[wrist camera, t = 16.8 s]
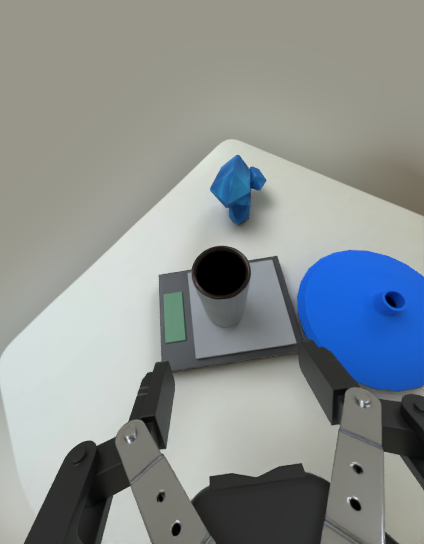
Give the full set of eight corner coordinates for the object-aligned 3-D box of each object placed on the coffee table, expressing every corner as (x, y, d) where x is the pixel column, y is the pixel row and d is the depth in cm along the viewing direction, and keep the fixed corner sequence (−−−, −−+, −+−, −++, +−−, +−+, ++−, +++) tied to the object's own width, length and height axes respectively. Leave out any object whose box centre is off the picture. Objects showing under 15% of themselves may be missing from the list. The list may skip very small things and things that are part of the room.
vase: (284, 368, 25) (302, 366, 19) (296, 252, 32) (312, 221, 25) (441, 407, 23) (523, 421, 16) (420, 272, 29) (473, 243, 22)
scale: (167, 372, 26) (159, 372, 23) (163, 281, 31) (156, 272, 29) (300, 352, 26) (308, 349, 23) (274, 263, 31) (278, 252, 28)
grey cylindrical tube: (252, 308, 25) (264, 271, 16) (224, 336, 24) (219, 312, 15) (225, 282, 27) (222, 235, 18) (198, 307, 26) (179, 270, 17)
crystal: (270, 142, 32) (268, 187, 25) (262, 195, 39) (258, 242, 31) (220, 141, 33) (204, 183, 26) (221, 192, 40) (208, 238, 33)
